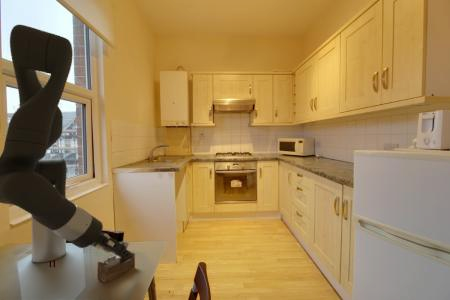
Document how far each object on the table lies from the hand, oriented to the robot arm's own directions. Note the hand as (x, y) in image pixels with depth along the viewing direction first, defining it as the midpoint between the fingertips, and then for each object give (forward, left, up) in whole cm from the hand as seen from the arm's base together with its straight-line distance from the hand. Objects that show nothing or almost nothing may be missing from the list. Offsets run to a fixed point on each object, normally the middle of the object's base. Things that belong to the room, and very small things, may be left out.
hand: (118, 252), depth 67 cm
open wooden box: (0, -1, -6) cm, 6 cm away
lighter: (0, -1, -5) cm, 6 cm away
